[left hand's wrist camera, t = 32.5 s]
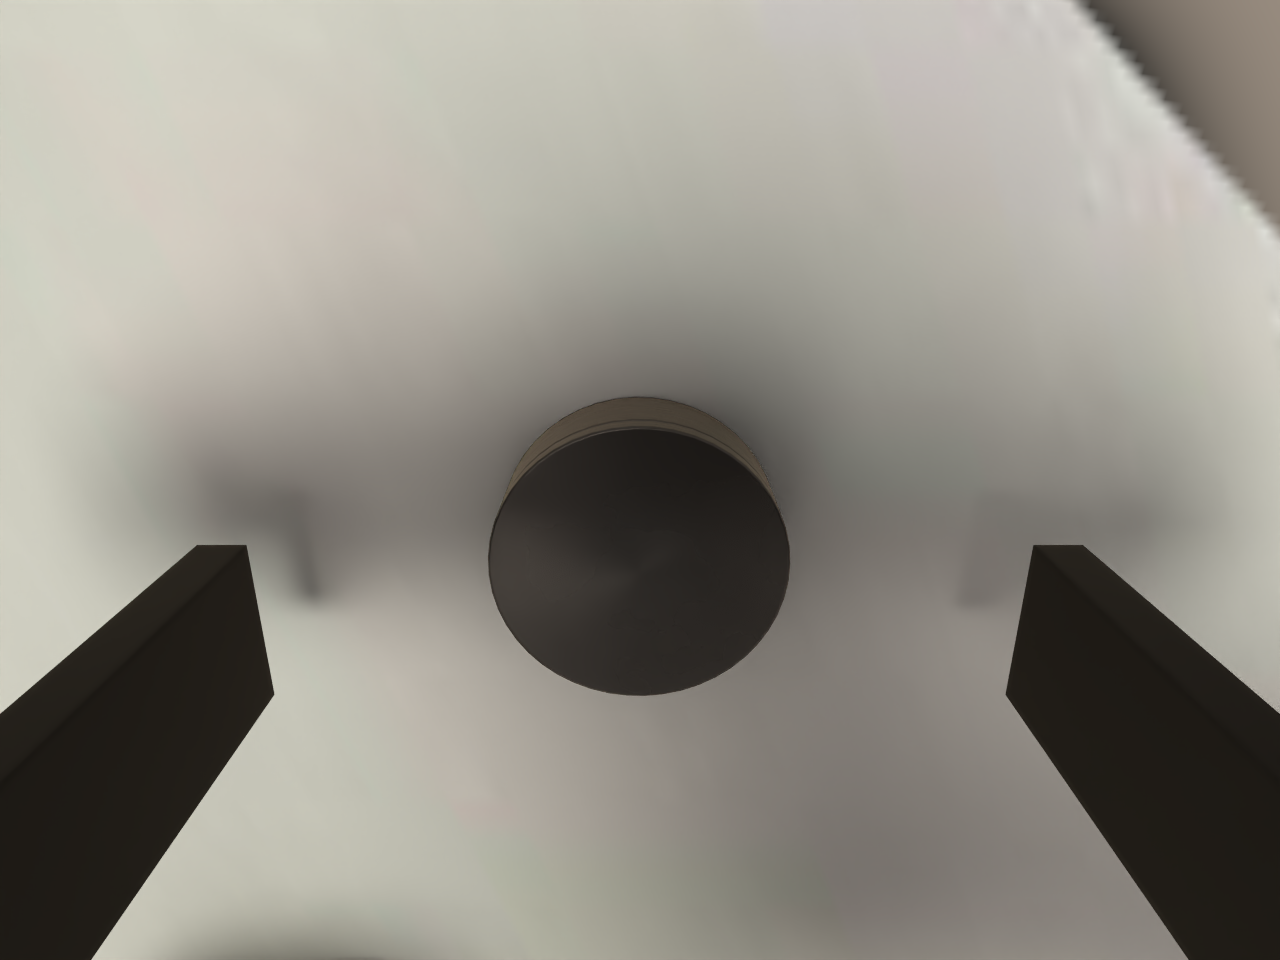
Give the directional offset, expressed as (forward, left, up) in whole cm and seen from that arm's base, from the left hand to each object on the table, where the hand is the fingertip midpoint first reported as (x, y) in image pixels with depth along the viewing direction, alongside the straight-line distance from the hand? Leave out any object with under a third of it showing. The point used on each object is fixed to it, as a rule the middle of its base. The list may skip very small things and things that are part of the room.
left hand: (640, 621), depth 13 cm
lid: (0, 0, -1) cm, 1 cm away
